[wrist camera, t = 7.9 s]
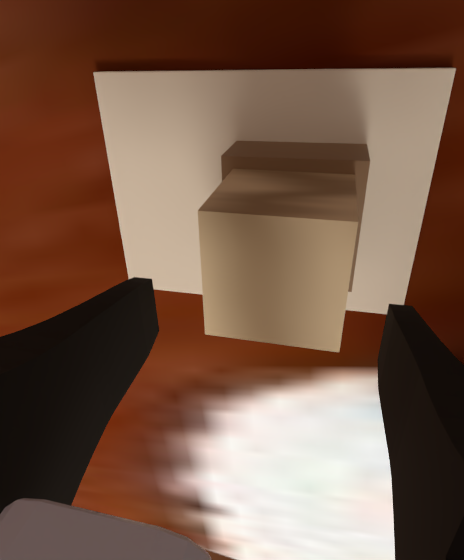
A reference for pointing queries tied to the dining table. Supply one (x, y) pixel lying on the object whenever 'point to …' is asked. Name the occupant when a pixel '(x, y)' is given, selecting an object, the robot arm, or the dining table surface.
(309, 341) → the maple cube
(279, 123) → the build board
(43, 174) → the dining table surface
